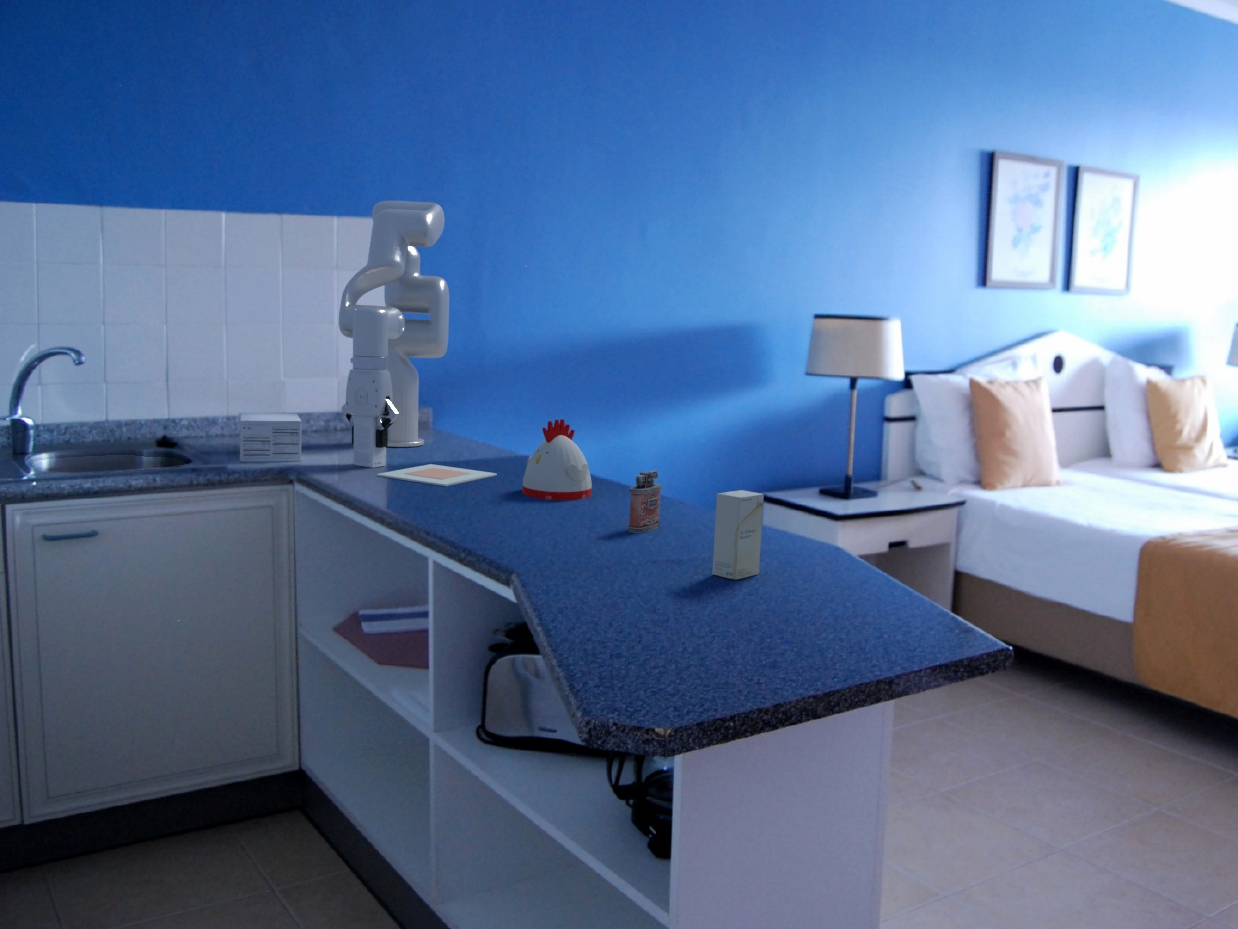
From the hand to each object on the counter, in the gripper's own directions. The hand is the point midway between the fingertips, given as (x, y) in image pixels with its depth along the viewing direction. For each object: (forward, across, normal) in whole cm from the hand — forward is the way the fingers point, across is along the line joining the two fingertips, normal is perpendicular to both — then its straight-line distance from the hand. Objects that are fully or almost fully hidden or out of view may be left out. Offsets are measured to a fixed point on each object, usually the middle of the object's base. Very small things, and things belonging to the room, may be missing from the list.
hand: (369, 444), depth 237 cm
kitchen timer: (+5, +49, 0) cm, 49 cm away
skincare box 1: (+5, 0, 0) cm, 5 cm away
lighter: (+5, +78, -18) cm, 80 cm away
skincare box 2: (+5, +103, -37) cm, 110 cm away
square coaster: (+5, +19, 0) cm, 20 cm away
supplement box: (+5, -25, -5) cm, 26 cm away
